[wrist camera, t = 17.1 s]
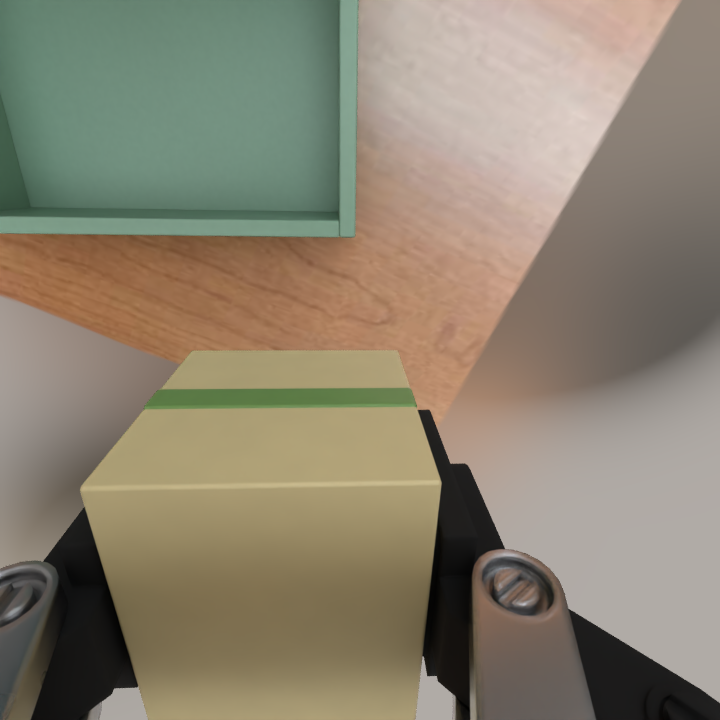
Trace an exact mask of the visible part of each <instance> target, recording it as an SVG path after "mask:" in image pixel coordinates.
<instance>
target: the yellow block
mask: <svg viewBox="0 0 720 720" xmlns="http://www.w3.org/2000/svg"><path fill="white" fill-rule="evenodd" d="M441 484H442V482H441V479H440V476H439V473H438V470H437V467H436V464H435V461H434V458H433V455H432V452H431V449H430V446H429V443H428V440H427V437H426V434H425V431H424V428H423V425H422V422H421V419H420V416H419V413H418V410H417V405H416V402H415V399H414V396H413V393H412V390H411V389H410V386H409V383H408V380H407V377H406V374H405V371H404V368H403V365H402V362H401V359H400V356H399V353H398V351H397V350H262V351H191V352H190V354H189V355H188V356H187V357H186V359H185V360H184V361H183V362H182V363H181V365H180V366H179V367H178V369H177V370H176V371H175V372H174V373H173V375H172V376H171V377H170V378H169V379H168V381H167V382H166V383H165V384H164V386H163V387H162V388H161V389H160V390H158V391H156V393H155V394H154V395H153V396H152V398H151V399H150V400H149V401H148V402H147V404H146V405H145V406H144V410H143V411H142V412H141V414H140V415H139V416H138V417H137V419H136V420H135V421H134V422H133V423H132V425H131V426H130V427H129V428H128V430H127V431H126V432H125V433H124V435H123V436H122V437H121V438H120V439H119V441H118V442H117V443H116V444H115V446H114V447H113V448H112V449H111V450H110V451H109V453H108V454H107V455H106V456H105V458H104V459H103V460H102V461H101V463H100V464H99V465H98V466H97V468H96V469H95V470H94V471H93V472H92V474H91V475H90V476H89V477H88V478H87V480H86V481H85V482H84V483H83V484H82V486H81V489H80V492H81V496H82V499H83V502H84V505H85V509H86V513H87V516H88V519H89V523H90V526H91V529H92V533H93V536H94V539H95V543H96V546H97V549H98V553H99V556H100V559H101V563H102V566H103V569H104V573H105V576H106V580H107V583H108V586H109V590H110V593H111V596H112V600H113V603H114V606H115V610H116V613H117V616H118V620H119V623H120V626H121V630H122V633H123V636H124V640H125V643H126V647H127V650H128V653H129V657H130V660H131V663H132V667H133V670H134V673H135V677H136V680H137V683H138V686H139V690H140V693H141V697H142V700H143V703H144V707H145V710H146V714H147V717H148V720H415V718H416V709H417V699H418V691H419V690H418V689H419V682H420V673H421V664H422V655H423V646H424V637H425V628H426V619H427V610H428V601H429V592H430V583H431V574H432V565H433V556H434V547H435V538H436V529H437V520H438V511H439V502H440V493H441Z"/></svg>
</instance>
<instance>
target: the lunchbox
mask: <svg viewBox="0 0 720 720" xmlns="http://www.w3.org/2000/svg"><path fill="white" fill-rule="evenodd" d="M358 1H359V0H0V233H4V234H88V235H172V236H256V237H339V236H340V237H346V238H353V237H355V221H356V148H357V74H358Z"/></svg>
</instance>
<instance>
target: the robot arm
mask: <svg viewBox="0 0 720 720" xmlns="http://www.w3.org/2000/svg"><path fill="white" fill-rule="evenodd" d="M418 413H419V416H420V419H421V422H422V425H423V428H424V431H425V434H426V437H427V440H428V443H429V446H430V449H431V452H432V455H433V458H434V461H435V464H436V467H437V470H438V473H439V476H440V479H441V482H442V484H441V493H440V502H439V511H438V520H437V529H436V538H435V547H434V556H433V565H432V574H431V583H430V592H429V601H428V610H427V619H426V628H425V637H424V646H423V655H422V656H424V660H425V665H426V671H427V676H437V679H438V682H440V683H441V684H442V685H443V686H444V687H445V688H447V689H448V690H449V691H450V692H451V693H452V694H453V718H452V720H720V703H719V702H717V701H716V700H714V699H713V698H712V697H710V696H709V695H708V694H706V693H705V692H704V691H702V690H701V689H699V688H698V687H696V686H694V685H692V684H691V683H689V682H688V681H686V680H684V679H683V678H681V677H680V676H678V675H676V674H675V673H673V672H671V671H670V670H668V669H666V668H665V667H663V666H662V665H660V664H658V663H657V662H655V661H653V660H652V659H650V658H648V657H647V656H645V655H643V654H642V653H640V652H638V651H637V650H635V649H634V648H632V647H630V646H629V645H627V644H625V643H624V642H622V641H620V640H619V639H617V638H616V637H614V636H612V635H611V634H609V633H607V632H606V631H604V630H602V629H601V628H599V627H598V626H596V625H594V624H593V623H591V622H589V621H587V620H586V619H584V618H583V617H581V616H579V615H578V614H576V613H575V612H573V611H571V610H570V609H568V606H567V602H566V598H565V593H564V591H563V588H562V586H561V584H560V581H559V580H558V578H557V577H556V576H555V575H554V573H553V572H552V571H551V570H550V569H549V568H548V567H547V566H545V565H544V564H543V563H542V562H541V561H539V560H538V559H536V558H534V557H532V556H530V555H528V554H526V553H522V552H519V551H515V550H509V549H505V548H504V546H503V543H502V541H501V539H500V536H499V534H498V532H497V530H496V527H495V525H494V523H493V521H492V518H491V516H490V514H489V511H488V509H487V507H486V505H485V503H484V500H483V498H482V495H481V494H480V491H479V489H478V486H477V484H476V482H475V480H474V477H473V475H472V473H471V471H470V469H469V467H468V465H466V464H450V462H449V459H448V456H447V454H446V451H445V449H444V446H443V444H442V441H441V438H440V435H439V433H438V430H437V428H436V425H435V422H434V420H433V417H432V414H431V412H430V410H418ZM134 687H138V683H137V680H136V677H135V673H134V670H133V667H132V663H131V660H130V657H129V653H128V650H127V647H126V643H125V640H124V636H123V633H122V630H121V626H120V623H119V620H118V616H117V613H116V610H115V606H114V603H113V600H112V596H111V593H110V590H109V586H108V583H107V580H106V576H105V573H104V569H103V566H102V563H101V559H100V556H99V553H98V549H97V546H96V543H95V539H94V536H93V533H92V529H91V526H90V523H89V519H88V516H87V513H86V509H85V507H84V508H83V510H82V511H81V512H80V513H79V515H78V516H77V518H76V519H75V520H74V522H73V523H72V524H71V525H70V527H69V528H68V529H67V531H66V532H65V533H64V535H63V536H62V537H61V539H60V540H59V541H58V543H57V544H56V545H55V547H54V548H53V549H52V551H51V552H50V553H49V555H48V556H47V557H46V558H45V560H44V561H43V562H41V561H26V562H19V563H16V564H12V565H9V566H6V567H3V568H1V569H0V720H99V718H100V714H101V706H102V701H103V700H104V699H106V698H107V697H108V696H110V695H111V694H112V692H113V690H114V688H134Z"/></svg>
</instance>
